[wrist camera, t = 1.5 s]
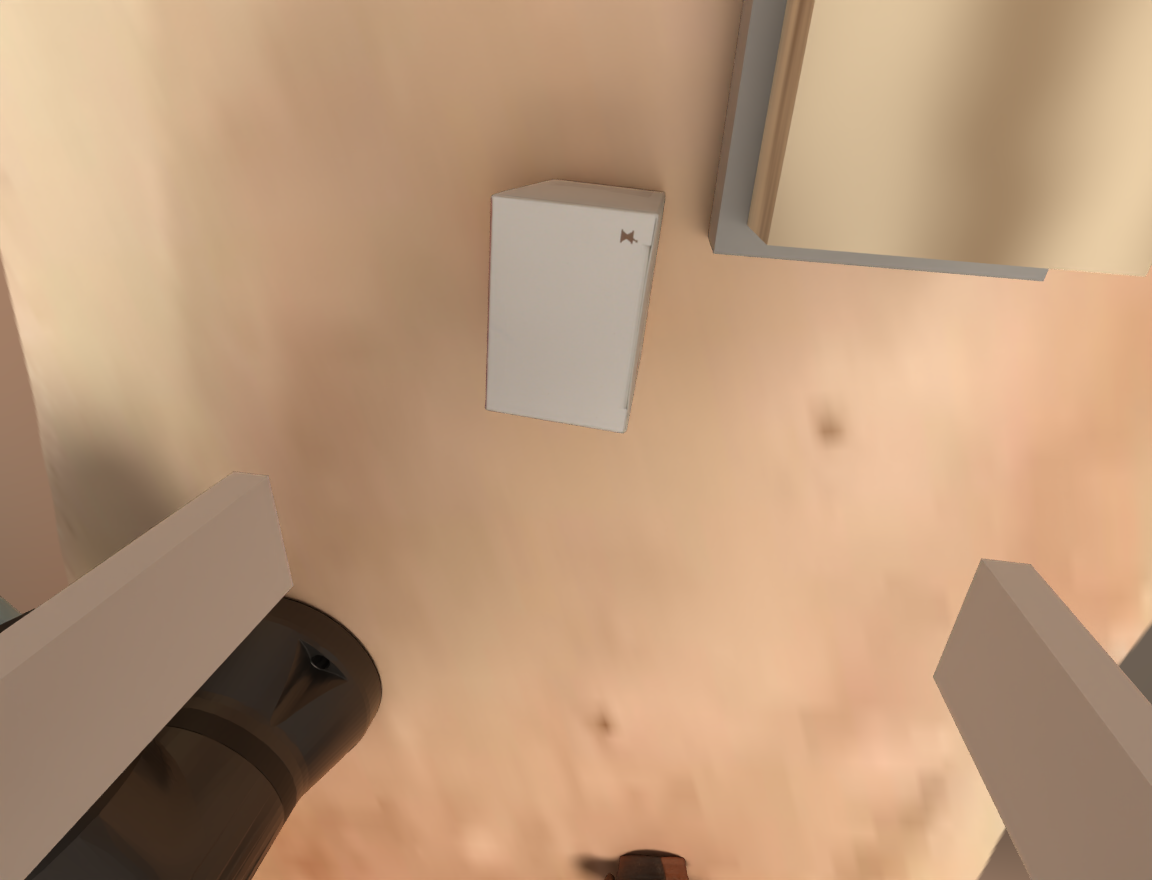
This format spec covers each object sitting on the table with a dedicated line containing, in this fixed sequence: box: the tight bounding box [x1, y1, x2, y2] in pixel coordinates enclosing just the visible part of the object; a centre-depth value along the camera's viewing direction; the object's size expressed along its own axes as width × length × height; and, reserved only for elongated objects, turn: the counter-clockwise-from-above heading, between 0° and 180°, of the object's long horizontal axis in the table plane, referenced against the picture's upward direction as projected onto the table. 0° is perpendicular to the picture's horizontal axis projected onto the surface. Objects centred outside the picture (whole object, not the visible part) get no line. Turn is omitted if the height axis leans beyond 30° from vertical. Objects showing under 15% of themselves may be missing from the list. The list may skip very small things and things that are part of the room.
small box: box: [485, 179, 665, 433], centre depth 25 cm, size 8×6×10 cm
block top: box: [747, 0, 1152, 277], centre depth 17 cm, size 10×10×6 cm
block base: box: [708, 0, 1048, 281], centre depth 22 cm, size 12×12×6 cm
